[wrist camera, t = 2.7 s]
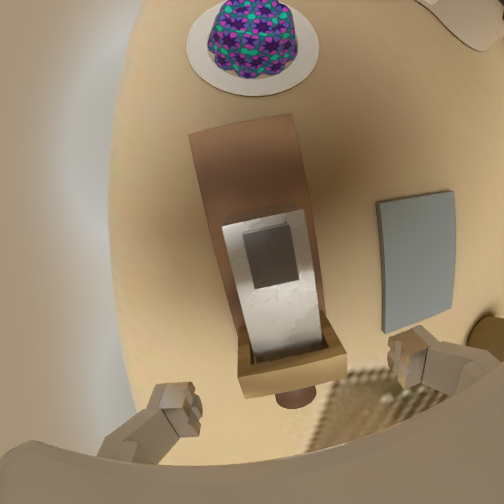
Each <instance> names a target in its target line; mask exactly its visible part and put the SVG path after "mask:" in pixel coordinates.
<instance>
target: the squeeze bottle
mask: <svg viewBox="0 0 504 504" xmlns="http://www.w3.org/2000/svg"><path fill="white" fill-rule="evenodd" d="M468 346H469V347H473V348H478V349H483V350H487V351H488V352H490V353H491V354H492V355H493V356H494V357H496V358H497V359H498V360H499V361H500V362H501V363H502V362H504V319H503V318H497V317H491V316H487V317H484V318H483V319H482V320H480V321H479V323H478V324H477V325H476V326H475V328H474V330H473V331H472V333H471V336H470V338H469V343H468Z"/></svg>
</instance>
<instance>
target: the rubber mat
mask: <svg viewBox="0 0 504 504" xmlns="http://www.w3.org/2000/svg"><path fill="white" fill-rule="evenodd" d="M376 207H377V216H378V226H379V237H380V250H381V267H382V331H383V332H384V334H386V333H389V332H392V331H395V330H398V329H401V328H403V327H406V326H409V325H411V324H414V323H417V322H419V321H422V320H424V319H427V318H429V317H432V316H434V315H436V314H439V313H441V312H443V311H446V310H448V309H450V308H451V305H452V297H453V287H454V275H455V257H456V217H455V199H454V191H444V192H438V193H432V194H425V195H419V196H413V197H408V198H402V199H396V200H390V201H385V202H379V203H376Z"/></svg>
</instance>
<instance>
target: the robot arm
mask: <svg viewBox="0 0 504 504" xmlns="http://www.w3.org/2000/svg"><path fill="white" fill-rule="evenodd" d="M417 1H418V2H419V3H421V4H422V5H424V6H425V7H427V8H428V9H429V10H430V11H432V12H433V13H434V14H435V15H436V16H437V17H438V19H439V20H440V21H441V22H442V23H443V24H444V25H445V26H446V27H447V28H448V29H449V30H450V31H451V32H452V33H453V34H454V35H455V36H457V37H458V38H459V39H460V40H461V41H463V42H464V43H465V44H467V45H468V46H470V47H471V48H473V49H475V50H478V51H482V52H484V51H487V50H488V49H489V48H490V47H491V46H492V45H493V44H494V43H495V42H496V41H497V40H498V39H500V38H501V37H503V36H504V0H417ZM388 346H389V347H390V348H391V349H390V351H389V352H388V356H387V360H388V365H389V368H390V370H391V371H392V373H393V374H396V375H398V379H397V380H398V381H399V383H400V384H401V385H402V387H403V388H404V389H406V388H409V387H411V386H414V385H416V384H418V383H422V384H425V385H427V386H429V387H431V388H433V389H436V390H438V391H440V392H442V393H445V394H447V395H449V396H452V397H450V398H448V399H447V400H445V401H443V402H441V403H439V404H437V405H436V406H434V407H432V408H430V409H428V410H426V411H424V412H422V413H420V414H418V415H416V416H414V417H411V418H409V419H407V420H405V421H403V422H400V423H398V424H396V425H393V426H391V427H388V428H386V429H383V430H381V431H378V432H375V433H373V434H370V435H367V436H364V437H361V438H358V439H355V440H352V441H349V442H346V443H343V444H339V445H336V446H332V447H329V448H325V449H321V450H317V451H313V452H309V453H304V454H299V455H295V456H289V457H284V458H278V459H272V460H265V461H258V462H250V463H240V464H228V465H209V466H173V465H157V464H158V463H159V462H160V461H161V460H162V458H163V457H164V456H165V455H166V454H167V453H168V452H169V450H170V449H171V448H172V447H173V446H174V445H175V443H176V442H177V441H178V440H179V439H180V438H181V437H198V436H199V433H200V427H201V424H200V422H199V419H200V418H201V417H202V412H203V411H202V403H201V400H200V398H199V396H198V395H196V394H195V393H194V392H195V387H194V385H193V383H192V382H178V383H163V384H157V385H155V387H154V390H153V392H152V395H151V397H150V400H149V403H148V405H147V408H146V409H143V410H141V411H140V412H139V413H137V414H136V415H135V416H133V417H132V418H131V419H130V420H128V421H127V422H126V423H124V424H123V425H122V426H120V427H119V428H117V429H116V430H115V431H114V432H112V433H111V434H109V435H108V436H106V437H105V439H104V441H103V444H102V445H101V448H100V450H99V452H98V454H97V457H95V456H90V455H86V454H81V453H77V452H73V451H69V450H66V449H62V448H58V447H55V446H52V445H48V444H46V443H43V442H40V441H36V440H31V441H28V442H25V443H23V444H21V445H19V446H17V447H15V448H13V449H11V450H9V451H8V452H6V453H5V454H4V455H3V456H2V457H1V458H0V504H504V362H502V363H501V362H500V361H499V360H498V359H497V358H496V357H494V356H493V355H492V354H491V353H490V352H488V351H487V350H483V349H478V348H473V347H468V346H463V345H458V344H454V343H449V342H444V341H442V342H439V341H438V340H437V339H436V338H435V337H434V336H433V335H432V334H430V333H429V332H428V331H427V330H426V329H425V328H424V327H423V326H421V325H418V326H416V327H413V328H411V329H409V330H407V331H404V332H402V333H399V334H396V335H394V336H391V337H389V340H388Z"/></svg>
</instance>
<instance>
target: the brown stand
mask: <svg viewBox="0 0 504 504" xmlns="http://www.w3.org/2000/svg"><path fill="white" fill-rule="evenodd" d="M188 136H189V141H190V145H191V150H192V155H193V159H194V164H195V169H196V173H197V178H198V182H199V186H200V191H201V195H202V199H203V204H204V208H205V212H206V216H207V221H208V225H209V229H210V233H211V237H212V241H213V245H214V249H215V253H216V257H217V261H218V265H219V269H220V272H221V276H222V280H223V284H224V288H225V291H226V295H227V299H228V302H229V306H230V310H231V313H232V317H233V320H234V324H235V327H236V331H237V335H238V380H239V383H240V386H241V389H242V392H243V395H244V398H245V399H249V398H256V397H262V396H267V395H273V394H275V396H276V401H277V403H278V404H279V405H280V406H281V407H284V408H287V409H297V408H301V407H304V406H306V405H308V404H309V403H311V402H312V401H313V400H314V398H315V396H316V388H315V385H318V384H322V383H326V382H330V381H333V380H337V379H340V378H344V377H347V353H346V351H345V349H344V347H343V346H342V344H341V342H340V340H339V338H338V337H337V335H336V333H335V331H334V329H333V328H332V326H331V324H330V322H329V321H328V319H327V317H326V312H325V303H324V294H323V285H322V277H321V270H320V262H319V255H318V248H317V242H316V235H315V229H314V223H313V217H312V211H311V205H310V199H309V194H308V188H307V183H306V178H305V173H304V168H303V163H302V158H301V153H300V149H299V144H298V140H297V135H296V131H295V127H294V122H293V118H292V114H286V115H279V116H273V117H267V118H261V119H255V120H250V121H245V122H240V123H235V124H230V125H226V126H221V127H217V128H213V129H209V130H205V131H201V132H197V133H193V134H189V135H188ZM287 203H292V204H294V205H296V206H298V207H300V208H302V209H304V213H305V219H306V225H307V231H308V237H309V243H310V249H311V256H312V263H313V269H314V277H315V284H316V291H317V299H318V307H319V316H320V325H321V334H322V344H323V349H322V350H318V351H314V352H310V353H306V354H302V355H298V356H293V357H289V358H284V359H279V360H274V361H269V362H264V363H259V364H256V360H255V357H254V353H253V349H252V345H251V342H250V338H249V334H248V330H247V327H246V323H245V319H244V315H243V311H242V307H241V303H240V299H239V296H238V292H237V288H236V284H235V280H234V276H233V272H232V268H231V263H230V259H229V255H228V251H227V247H226V243H225V239H224V235H223V230H222V225H223V222H224V220H225V218H226V216H230V215H234V214H239V213H244V212H248V211H253V210H258V209H262V208H267V207H272V206H277V205H282V204H287Z"/></svg>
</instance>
